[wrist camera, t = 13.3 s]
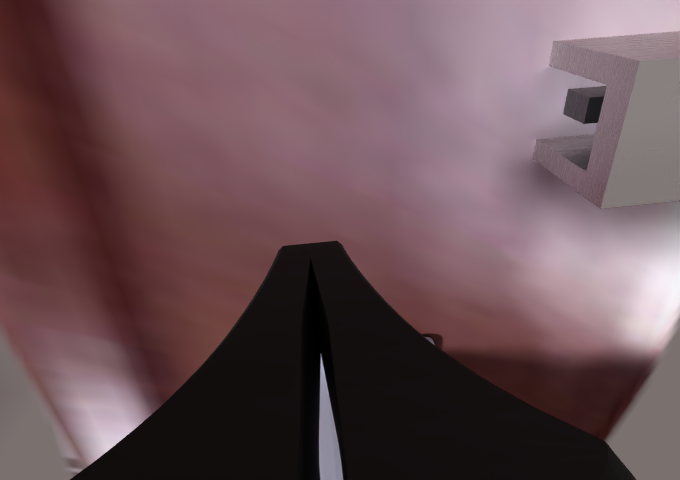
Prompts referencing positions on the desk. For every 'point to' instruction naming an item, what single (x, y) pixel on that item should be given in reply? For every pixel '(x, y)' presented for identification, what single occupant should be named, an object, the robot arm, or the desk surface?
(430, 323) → the desk surface
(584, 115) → the coupler
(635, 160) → the lock
